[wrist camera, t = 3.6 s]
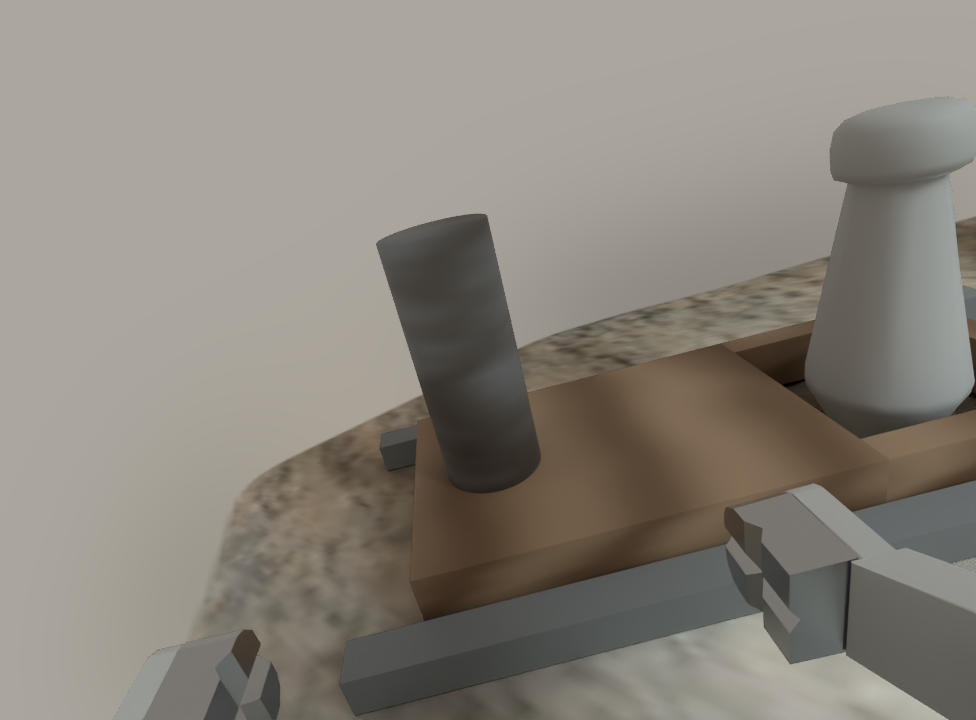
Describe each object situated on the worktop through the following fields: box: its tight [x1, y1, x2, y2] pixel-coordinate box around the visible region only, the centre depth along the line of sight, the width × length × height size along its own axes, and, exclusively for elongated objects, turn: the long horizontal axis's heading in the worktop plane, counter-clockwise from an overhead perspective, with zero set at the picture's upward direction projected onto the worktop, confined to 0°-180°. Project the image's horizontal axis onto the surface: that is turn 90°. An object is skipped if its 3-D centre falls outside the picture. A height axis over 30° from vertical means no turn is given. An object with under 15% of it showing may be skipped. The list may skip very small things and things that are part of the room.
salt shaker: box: [804, 97, 976, 439], centre depth 21 cm, size 6×6×13 cm
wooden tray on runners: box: [376, 214, 976, 621], centre depth 21 cm, size 26×11×12 cm, turn 96°
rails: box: [339, 286, 976, 715], centre depth 23 cm, size 34×15×2 cm, turn 96°
